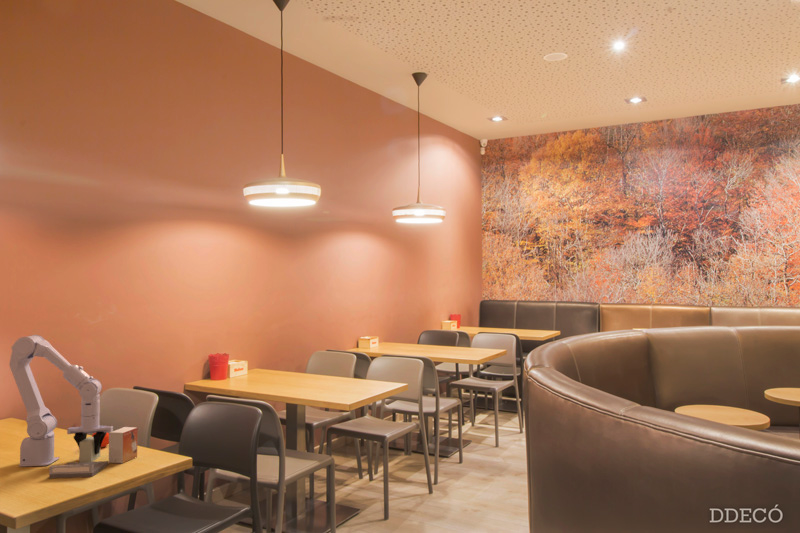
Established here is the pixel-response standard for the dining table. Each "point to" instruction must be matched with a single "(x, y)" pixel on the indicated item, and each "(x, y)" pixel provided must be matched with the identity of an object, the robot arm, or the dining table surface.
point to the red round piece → (104, 440)
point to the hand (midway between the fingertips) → (90, 453)
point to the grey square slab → (76, 469)
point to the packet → (87, 450)
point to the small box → (123, 444)
